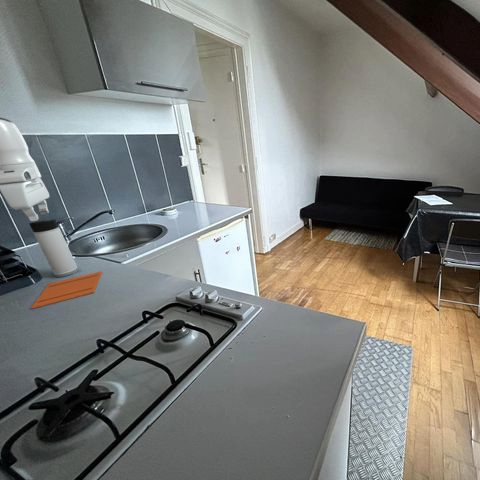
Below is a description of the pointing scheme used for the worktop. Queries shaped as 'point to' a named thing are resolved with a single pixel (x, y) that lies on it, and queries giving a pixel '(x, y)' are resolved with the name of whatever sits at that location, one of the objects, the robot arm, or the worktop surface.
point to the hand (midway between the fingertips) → (40, 217)
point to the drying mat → (68, 289)
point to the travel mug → (54, 247)
